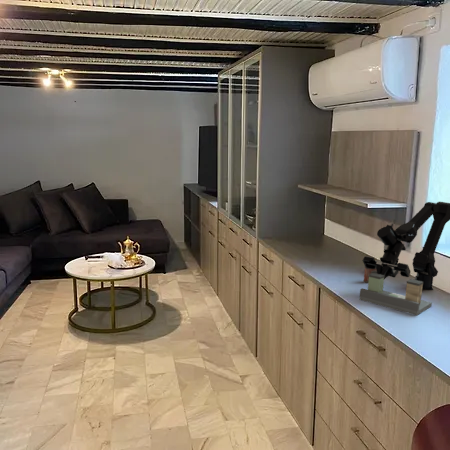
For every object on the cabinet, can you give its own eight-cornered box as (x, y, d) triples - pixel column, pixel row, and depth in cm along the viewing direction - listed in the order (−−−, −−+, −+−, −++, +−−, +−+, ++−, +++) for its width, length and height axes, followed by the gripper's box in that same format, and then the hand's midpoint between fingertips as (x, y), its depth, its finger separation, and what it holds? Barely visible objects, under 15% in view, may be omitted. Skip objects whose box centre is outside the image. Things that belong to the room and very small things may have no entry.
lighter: (365, 283, 210) (367, 261, 209) (361, 281, 213) (363, 260, 212) (381, 282, 212) (383, 261, 211) (377, 280, 216) (379, 259, 214)
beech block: (408, 300, 183) (411, 279, 181) (420, 303, 180) (423, 281, 178) (404, 303, 180) (406, 281, 178) (416, 306, 177) (419, 283, 175)
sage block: (371, 293, 190) (373, 272, 188) (382, 296, 187) (384, 275, 185) (366, 295, 187) (368, 274, 185) (377, 298, 184) (380, 277, 182)
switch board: (376, 291, 198) (377, 281, 197) (431, 306, 183) (432, 295, 182) (359, 299, 187) (360, 289, 186) (416, 315, 172) (418, 303, 171)
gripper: (418, 268, 192) (405, 299, 186) (376, 259, 205) (362, 288, 199) (413, 252, 185) (399, 284, 179) (369, 244, 198) (354, 273, 192)
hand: (378, 283), depth 188 cm, fingers closed, pressing on sage block
